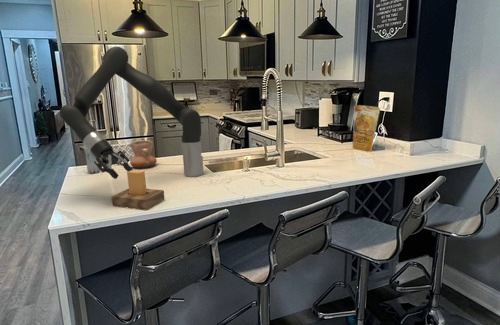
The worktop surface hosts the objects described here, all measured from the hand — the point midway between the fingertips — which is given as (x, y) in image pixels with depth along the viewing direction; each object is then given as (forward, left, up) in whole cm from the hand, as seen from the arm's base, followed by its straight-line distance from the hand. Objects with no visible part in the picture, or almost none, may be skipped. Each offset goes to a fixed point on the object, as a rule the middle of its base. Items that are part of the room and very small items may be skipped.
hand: (124, 174), depth 140 cm
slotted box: (-4, +4, -11) cm, 13 cm away
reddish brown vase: (-15, -57, -12) cm, 60 cm away
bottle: (+11, -57, -12) cm, 60 cm away
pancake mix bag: (-149, -27, -12) cm, 152 cm away
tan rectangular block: (-4, +4, -11) cm, 13 cm away
